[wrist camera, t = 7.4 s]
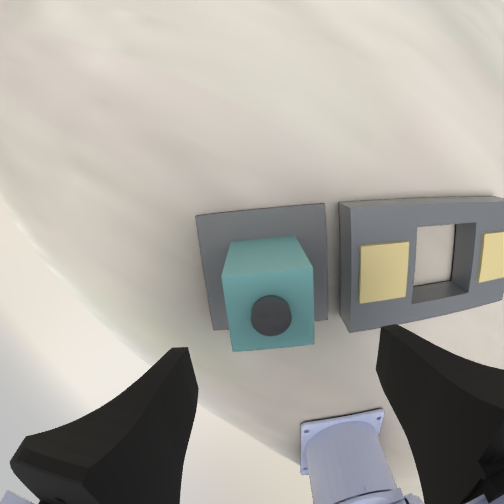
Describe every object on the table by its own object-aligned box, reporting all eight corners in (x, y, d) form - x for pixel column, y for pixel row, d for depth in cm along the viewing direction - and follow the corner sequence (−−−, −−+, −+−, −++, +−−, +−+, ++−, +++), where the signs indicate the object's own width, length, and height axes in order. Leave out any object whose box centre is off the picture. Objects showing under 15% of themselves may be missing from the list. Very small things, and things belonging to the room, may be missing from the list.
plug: (298, 294, 20) (316, 350, 14) (238, 299, 20) (232, 358, 14) (295, 235, 19) (315, 272, 13) (230, 241, 19) (219, 281, 13)
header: (485, 288, 21) (504, 301, 18) (340, 315, 21) (350, 335, 18) (494, 196, 18) (516, 201, 16) (338, 202, 19) (352, 208, 16)
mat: (326, 316, 21) (327, 319, 21) (214, 327, 21) (213, 330, 21) (323, 203, 19) (324, 204, 18) (196, 215, 19) (195, 216, 19)
